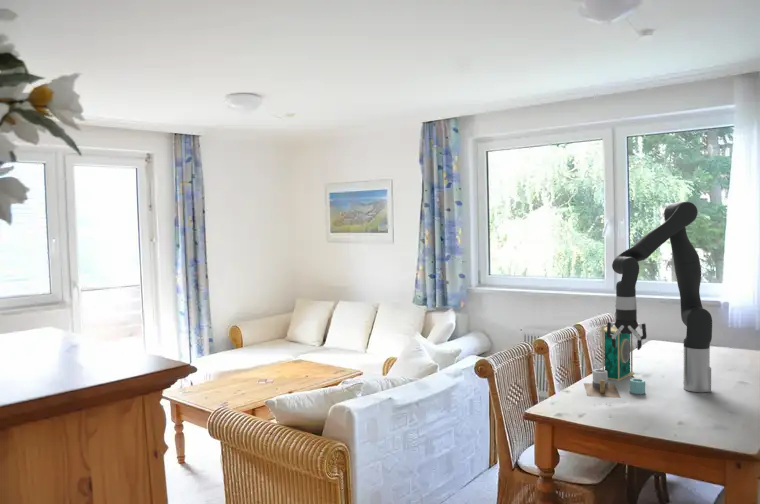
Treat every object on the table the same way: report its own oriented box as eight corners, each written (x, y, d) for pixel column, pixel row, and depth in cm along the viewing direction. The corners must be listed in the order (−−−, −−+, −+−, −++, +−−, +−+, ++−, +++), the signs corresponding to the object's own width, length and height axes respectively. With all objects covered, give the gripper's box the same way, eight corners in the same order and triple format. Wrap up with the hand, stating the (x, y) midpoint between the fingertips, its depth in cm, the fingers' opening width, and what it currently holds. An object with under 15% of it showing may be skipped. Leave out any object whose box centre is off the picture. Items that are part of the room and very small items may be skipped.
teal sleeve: (643, 395, 232) (643, 378, 232) (646, 399, 227) (646, 382, 227) (629, 394, 234) (628, 378, 233) (631, 398, 228) (631, 381, 228)
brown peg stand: (614, 388, 243) (614, 372, 242) (620, 401, 225) (620, 384, 225) (583, 386, 246) (583, 371, 245) (587, 399, 228) (587, 383, 228)
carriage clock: (620, 384, 247) (620, 313, 246) (599, 381, 253) (599, 311, 252) (635, 376, 260) (635, 308, 258) (614, 373, 266) (614, 306, 264)
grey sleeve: (603, 384, 243) (602, 368, 242) (609, 388, 238) (609, 372, 237) (590, 385, 242) (590, 369, 242) (597, 389, 237) (597, 373, 236)
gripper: (646, 306, 232) (647, 348, 233) (607, 305, 238) (608, 345, 239) (645, 309, 225) (646, 352, 226) (605, 308, 232) (606, 349, 233)
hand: (626, 348), depth 233 cm, fingers open, 8 cm apart
